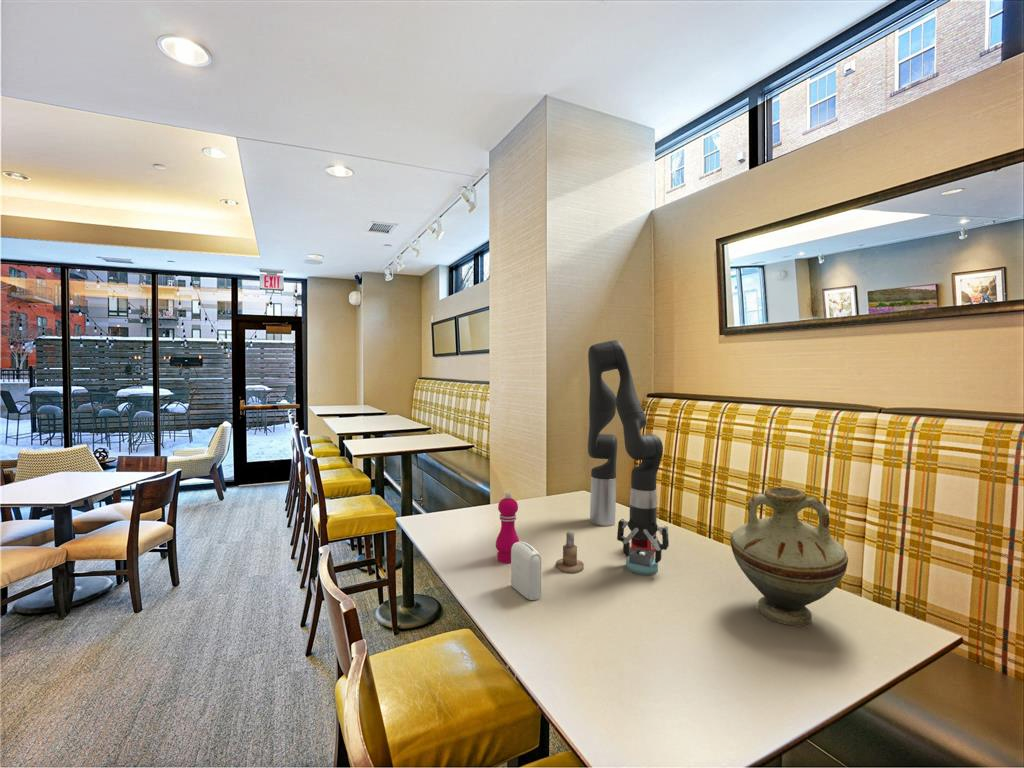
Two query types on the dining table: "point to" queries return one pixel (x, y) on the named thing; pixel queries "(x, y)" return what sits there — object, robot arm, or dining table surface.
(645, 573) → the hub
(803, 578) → the amphora
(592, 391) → the robot arm
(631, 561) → the square metal frame
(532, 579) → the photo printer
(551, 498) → the dining table surface
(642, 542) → the canned food
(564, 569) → the stand
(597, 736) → the dining table surface
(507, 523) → the pepper mill
